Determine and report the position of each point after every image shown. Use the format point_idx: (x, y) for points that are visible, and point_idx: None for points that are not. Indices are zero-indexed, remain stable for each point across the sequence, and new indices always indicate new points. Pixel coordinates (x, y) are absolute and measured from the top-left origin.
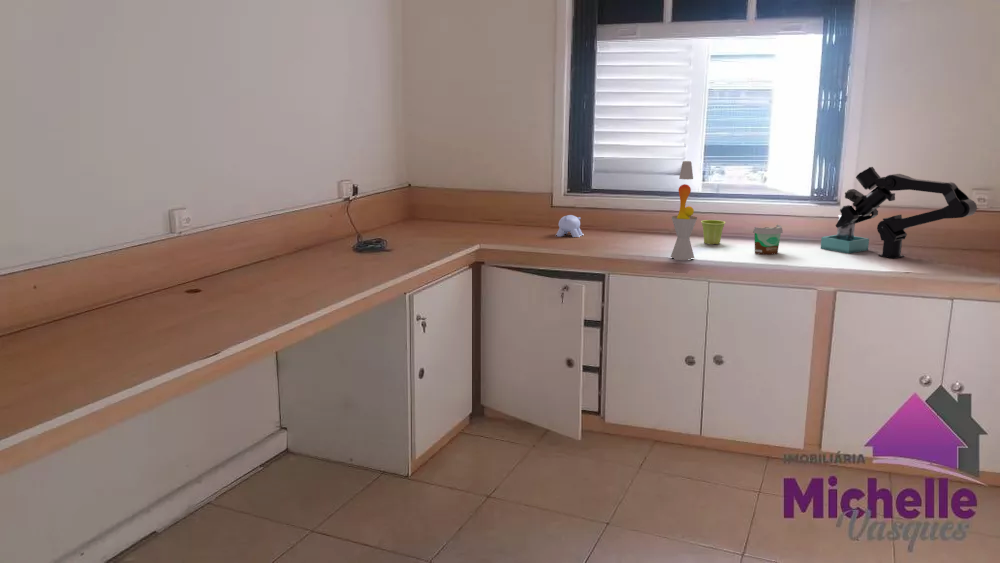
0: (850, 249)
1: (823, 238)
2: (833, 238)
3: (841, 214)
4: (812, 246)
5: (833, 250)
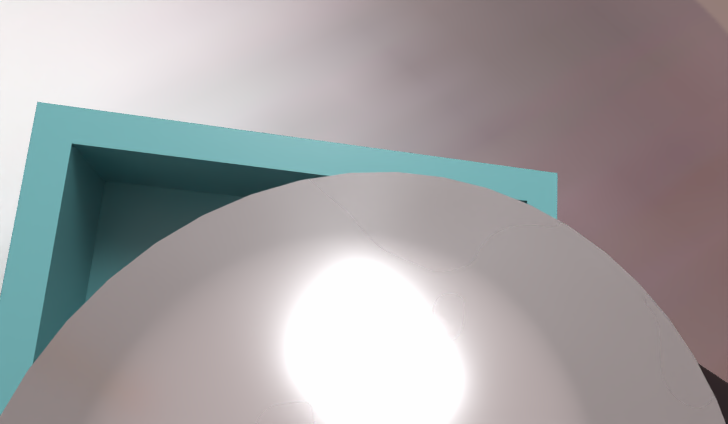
0: None
1: (38, 147)
2: None
3: (484, 211)
4: (158, 16)
5: None
